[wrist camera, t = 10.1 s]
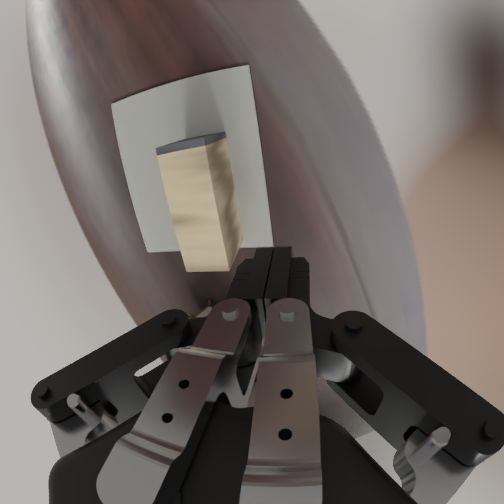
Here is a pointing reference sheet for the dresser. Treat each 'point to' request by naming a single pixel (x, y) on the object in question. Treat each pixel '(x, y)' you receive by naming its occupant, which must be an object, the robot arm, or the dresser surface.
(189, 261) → the maple block
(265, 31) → the dresser surface
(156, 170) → the felt mat
